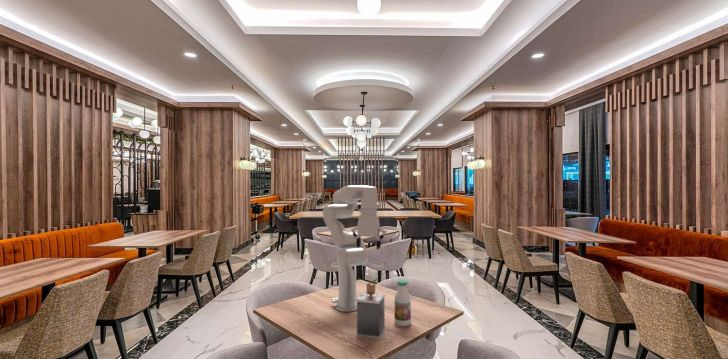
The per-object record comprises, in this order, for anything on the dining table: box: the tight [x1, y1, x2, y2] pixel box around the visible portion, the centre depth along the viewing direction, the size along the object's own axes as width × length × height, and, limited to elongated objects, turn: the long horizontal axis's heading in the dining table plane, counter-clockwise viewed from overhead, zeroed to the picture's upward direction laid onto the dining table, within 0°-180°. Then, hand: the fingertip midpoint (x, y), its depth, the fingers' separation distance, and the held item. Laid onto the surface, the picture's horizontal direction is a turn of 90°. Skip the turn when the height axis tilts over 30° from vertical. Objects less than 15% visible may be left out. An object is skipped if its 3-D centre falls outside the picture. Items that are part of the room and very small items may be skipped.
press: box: [356, 291, 386, 340], centre depth 141 cm, size 10×13×16 cm
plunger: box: [366, 282, 376, 297], centre depth 140 cm, size 8×8×20 cm
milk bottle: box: [393, 279, 412, 327], centre depth 149 cm, size 8×8×20 cm
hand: (368, 247), depth 149 cm, fingers open, 9 cm apart
